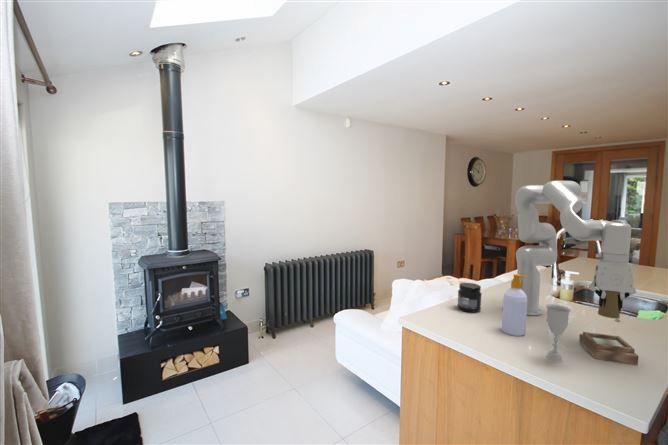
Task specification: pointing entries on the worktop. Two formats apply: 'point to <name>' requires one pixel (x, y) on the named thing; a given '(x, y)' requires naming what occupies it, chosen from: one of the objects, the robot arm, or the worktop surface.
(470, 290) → the supplement container
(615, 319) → the soupspoon
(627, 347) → the brown wooden flat frame
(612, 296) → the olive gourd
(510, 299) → the soap bottle
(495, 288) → the worktop surface
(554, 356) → the chalice
